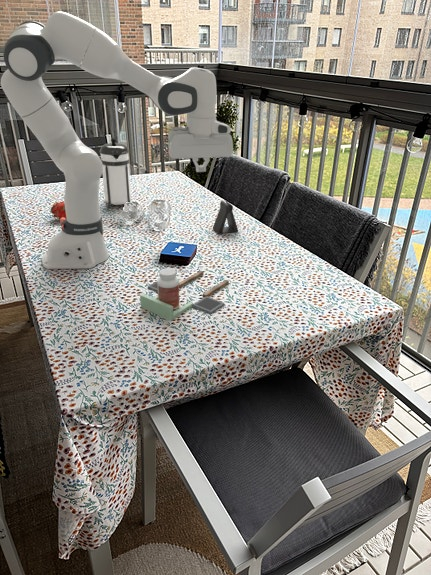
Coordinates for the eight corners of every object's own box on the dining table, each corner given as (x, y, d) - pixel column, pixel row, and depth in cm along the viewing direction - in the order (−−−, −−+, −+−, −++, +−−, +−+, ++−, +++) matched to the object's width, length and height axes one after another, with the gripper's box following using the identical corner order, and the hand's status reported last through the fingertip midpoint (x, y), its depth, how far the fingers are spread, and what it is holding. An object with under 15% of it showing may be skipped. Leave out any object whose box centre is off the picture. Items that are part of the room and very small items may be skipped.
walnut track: (200, 273, 149) (200, 270, 148) (228, 283, 143) (228, 280, 142) (177, 286, 140) (176, 283, 140) (205, 298, 134) (205, 295, 134)
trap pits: (162, 280, 144) (161, 278, 143) (224, 304, 131) (224, 302, 131) (147, 287, 139) (147, 285, 139) (210, 314, 126) (210, 312, 126)
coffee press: (142, 202, 213) (139, 137, 199) (119, 211, 201) (113, 142, 187) (115, 196, 221) (110, 132, 207) (91, 204, 209) (84, 137, 195)
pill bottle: (183, 308, 129) (182, 273, 124) (163, 313, 126) (162, 278, 121) (174, 298, 134) (173, 265, 128) (154, 303, 131) (153, 269, 126)
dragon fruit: (49, 223, 190) (78, 224, 195) (51, 217, 182) (81, 218, 187) (48, 204, 191) (77, 205, 196) (50, 197, 183) (80, 199, 188)
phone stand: (218, 234, 180) (218, 205, 174) (212, 229, 185) (213, 201, 179) (238, 231, 183) (239, 203, 177) (232, 226, 188) (233, 199, 182)
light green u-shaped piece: (164, 293, 136) (163, 282, 134) (193, 306, 130) (193, 294, 128) (140, 307, 129) (140, 295, 127) (170, 320, 123) (170, 308, 121)
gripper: (169, 128, 132) (170, 175, 138) (235, 127, 137) (233, 172, 144) (166, 125, 137) (167, 170, 144) (229, 124, 142) (227, 168, 149)
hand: (200, 171), depth 144 cm, fingers closed
